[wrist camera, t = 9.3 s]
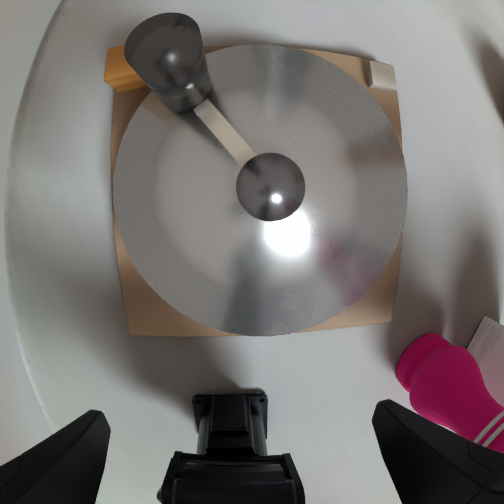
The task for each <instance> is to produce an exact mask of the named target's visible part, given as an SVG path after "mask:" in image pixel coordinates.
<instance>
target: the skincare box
mask: <svg viewBox="0 0 504 504" xmlns="http://www.w3.org/2000/svg"><path fill="white" fill-rule="evenodd" d="M466 350H467V351H468V352H469V353H470V354H471V355H472V356H473V357H474V358H475V360H476V362H477V363H478V366H479V368H480V371H481V374H482V377H483V381H484V383H485V386H486V388H487V390H488V392H489V393H490V395H491V396H492V397H493V398H494V399H495V401H496V402H497V403H499V404H500V405H501V406H503V407H504V326H503V325H501V324H499V323H498V322H496V321H494V320H492V319H490V318H488V317H486V316H484V317H483V319H482V321H481V323H480V325H479V327H478V329H477V331H476V333H475V335H474V337H473V338H472V340H471V342H470V344H469V346H468V347H467V349H466Z"/></svg>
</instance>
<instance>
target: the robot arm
mask: <svg viewBox="0 0 504 504" xmlns="http://www.w3.org/2000/svg"><path fill="white" fill-rule="evenodd" d="M261 398H263V399H262V400H261ZM197 400H200V401H197ZM192 403H193V408H194V413H195V418H196V422H197V427H198V431H199V435H198V444H197V454H190V453H183V452H181V451H175V453H174V456H173V458H171V461H170V464H169V467H168V470H167V473H166V475H165V478H164V481H163V484H162V486H161V488H160V489H159V491H158V493H157V499H158V500H159V501H160V503H161V504H305V494H304V489H303V485H302V482H301V480H300V477H299V475H298V472H297V470H296V467H295V465H294V463H293V460H292V458H291V455H290V453H286V454H282V455H269V456H268V455H267V447H266V439H267V406H268V399H267V395H266V394H262V393H260V394H239V395H195V396H193V399H192ZM372 424H373V427H374V431H375V434H376V437H377V440H378V444H379V447H380V451H381V454H382V457H383V460H384V462H385V465H386V467H387V469H388V471H389V474H390V476H391V478H392V481H393V483H394V485H395V488H396V490H397V492H398V495H399V497H400V500H401V502H402V504H504V453H502V452H499V451H496V450H493V449H490V448H487V447H484V446H482V445H480V444H477V443H475V442H473V441H471V440H467V439H466V438H464V437H462V436H460V435H458V434H456V433H454V432H452V431H450V430H448V429H446V428H444V427H442V426H440V425H438V424H436V423H434V422H432V421H430V420H428V419H426V418H424V417H422V416H420V415H418V414H416V413H414V412H413V411H411V410H409V409H407V408H405V407H403V406H401V405H400V404H398V403H396V402H394V401H392V400H390V399H387V400H383V401H379V402H378V403H377V405H376V408H375V411H374V414H373V417H372ZM110 433H111V430H110V426H109V424H108V422H107V420H106V418H105V416H104V414H103V412H102V411H98V410H89V411H88V412H86V413H85V414H83V415H82V416H80V417H79V418H77V419H76V420H74V421H73V422H71V423H70V424H68V425H67V426H65V427H64V428H62V429H61V430H59V431H57V432H56V433H54V434H53V435H51V436H50V437H48V438H47V439H45V440H44V441H42V442H40V443H39V444H37V445H36V446H34V447H32V448H31V449H29V450H27V451H26V452H24V453H23V454H21V455H20V456H18V457H16V458H14V459H13V460H11V461H9V462H7V463H5V464H4V465H2V466H0V504H95V502H96V498H97V494H98V490H99V486H100V483H101V479H102V475H103V472H104V468H105V462H106V456H107V450H108V444H109V439H110Z"/></svg>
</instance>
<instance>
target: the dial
mask: <svg viewBox="0 0 504 504" xmlns="http://www.w3.org/2000/svg"><path fill="white" fill-rule="evenodd" d="M124 55H125V59H126V61H127V62H128V64H129V65H130V66H131V67H132V68H133V70H134V71H135V72H136V73H137V74H138V75H139V76H140V78H141V79H142V80H143V81H144V82H145V83H146V85H147V86H148V87H149V88H150V89H151V90H152V91H151V93H150V94H149V95H148V96H147V97H146V98H145V99H144V101H143V102H142V103H141V105H140V106H139V108H138V109H137V111H136V112H135V114H134V115H133V117H132V118H131V120H130V122H129V125H128V127H127V129H126V131H125V133H124V135H123V138H122V141H121V144H120V147H119V150H118V154H117V157H116V163H115V169H114V176H113V201H114V210H115V217H116V221H117V225H118V229H119V233H120V236H121V239H122V241H123V243H124V246H125V248H126V251H127V253H128V255H129V257H130V259H131V260H132V262H133V264H134V265H135V267H136V269H137V271H138V272H139V273H140V275H141V276H142V277H143V278H144V280H145V281H146V282H147V284H148V285H149V286H150V287H151V288H152V289H153V290H154V291H155V292H156V293H157V294H158V295H159V296H160V297H161V298H162V299H163V300H164V301H165V302H167V303H168V304H169V305H171V306H172V307H173V308H175V309H176V310H177V311H179V312H180V313H182V314H184V315H185V316H187V317H189V318H191V319H192V320H194V321H196V322H198V323H201V324H203V325H206V326H208V327H211V328H213V329H217V330H220V331H224V332H228V333H232V334H239V335H247V336H275V335H283V334H290V333H294V332H298V331H301V330H305V329H308V328H311V327H313V326H316V325H318V324H321V323H323V322H325V321H327V320H329V319H331V318H333V317H334V316H336V315H338V314H340V313H341V312H343V311H344V310H345V309H347V308H348V307H350V306H351V305H352V304H354V303H355V302H356V301H357V300H358V299H359V298H360V297H361V296H363V295H364V294H365V293H366V292H367V291H368V290H369V289H370V287H371V286H372V285H373V284H374V283H375V281H376V280H377V279H378V278H379V277H380V275H381V273H382V272H383V270H384V269H385V267H386V266H387V264H388V263H389V261H390V259H391V257H392V255H393V253H394V250H395V248H396V246H397V244H398V241H399V238H400V235H401V232H402V229H403V224H404V219H405V214H406V208H407V193H408V190H407V173H406V168H405V162H404V157H403V153H402V150H401V147H400V144H399V141H398V138H397V135H396V133H395V131H394V129H393V127H392V125H391V123H390V121H389V119H388V117H387V116H386V114H385V113H384V111H383V110H382V108H381V106H380V105H379V104H378V102H377V101H376V100H375V99H374V98H373V96H372V95H371V94H370V93H369V92H368V90H366V89H365V88H364V87H363V86H362V85H361V84H360V83H359V82H358V81H357V80H356V79H355V78H354V77H352V76H351V75H349V74H348V73H347V72H345V71H344V70H342V69H341V68H340V67H338V66H336V65H335V64H333V63H331V62H329V61H327V60H325V59H323V58H321V57H319V56H316V55H314V54H311V53H308V52H306V51H303V50H299V49H295V48H290V47H286V46H279V45H269V44H252V45H240V46H234V47H229V48H224V49H220V50H217V51H214V52H211V53H208V54H205V52H204V48H203V43H202V39H201V34H200V29H199V27H198V25H197V23H196V22H195V21H194V20H193V19H192V18H191V17H189V16H187V15H184V14H180V13H163V14H159V15H156V16H153V17H151V18H149V19H147V20H145V21H143V22H142V23H141V24H139V25H138V26H137V27H136V28H135V29H134V30H133V31H132V32H131V34H130V35H129V37H128V38H127V41H126V43H125V47H124Z"/></svg>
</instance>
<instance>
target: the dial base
mask: <svg viewBox="0 0 504 504" xmlns="http://www.w3.org/2000/svg"><path fill="white" fill-rule="evenodd" d="M124 47H125V45H122V46H118V47H114V48H110V49H108V54H107V60H106V67H105V74H104V81H105V82H106V83H107V84H109V85H110V86H111V87H113V88H114V89H115V91H114V103H113V117H112V140H111V183H112V207H113V222H114V234H115V244H116V253H117V261H118V269H119V276H120V283H121V290H122V296H123V302H124V307H125V312H126V318H127V323H128V328H129V332H130V335H140V336H174V337H213V336H247V335H239V334H232V333H228V332H224V331H220V330H217V329H213V328H211V327H208V326H206V325H203V324H201V323H198V322H196V321H194V320H192V319H191V318H189V317H187V316H185V315H184V314H182V313H180V312H179V311H177V310H176V309H175V308H173V307H172V306H171V305H169V304H168V303H167V302H165V301H164V300H163V299H162V298H161V297H160V296H159V295H158V294H157V293H156V292H155V291H154V290H153V289H152V288H151V287H150V286H149V285H148V284H147V282H146V281H145V280H144V278H143V277H142V276H141V275H140V273H139V272H138V271H137V269H136V267H135V265H134V264H133V262H132V260H131V259H130V257H129V255H128V253H127V251H126V248H125V246H124V243H123V241H122V239H121V236H120V233H119V229H118V225H117V221H116V217H115V210H114V201H113V176H114V169H115V163H116V157H117V154H118V150H119V147H120V144H121V141H122V138H123V135H124V133H125V131H126V129H127V127H128V125H129V122H130V120H131V118H132V117H133V115H134V114H135V112H136V111H137V109H138V108H139V106H140V105H141V103H142V102H143V101H144V99H145V98H146V97H147V96H148V95H149V94H150V93H151V91H152V90H151V89H150V88H149V87H148V86H147V85H146V83H145V82H144V81H143V80H142V79H141V78H140V76H139V75H138V74H137V73H136V72H135V71H134V70H133V68H132V67H131V66H130V65H129V64H128V62H127V61H126V59H125V55H124ZM229 47H234V46H219V47H203V48H204V52H205V54H208V53H211V52H214V51H217V50H220V49H224V48H229ZM295 49H299V50H303V51H306V52H308V53H311V54H314V55H316V56H319V57H321V58H323V59H325V60H327V61H329V62H331V63H333V64H335V65H336V66H338V67H340V68H341V69H342V70H344V71H345V72H347V73H348V74H349V75H351V76H352V77H354V78H355V79H356V80H357V81H358V82H359V83H360V84H361V85H362V86H363V87H364V88H365V89H366V90H368V92H369V93H370V94H371V95H372V96H373V98H374V99H375V100H376V101H377V102H378V104H379V105H380V106H381V108H382V110H383V111H384V113H385V114H386V116H387V117H388V119H389V121H390V123H391V125H392V127H393V129H394V131H395V133H396V135H397V138H398V141H399V144H400V147H401V150H402V136H401V123H400V113H399V104H398V96H397V86H396V80H395V74H394V68H393V65H389V64H385V63H381V62H377V61H373V60H369V59H364V58H360V57H355V56H349V55H344V54H338V53H332V52H325V51H318V50H309V49H300V48H295ZM401 238H402V232H401V235H400V238H399V241H398V244H397V246H396V248H395V250H394V253H393V255H392V257H391V259H390V261H389V263H388V264H387V266H386V267H385V269H384V270H383V272H382V273H381V275H380V277H379V278H378V279H377V280H376V281H375V283H374V284H373V285H372V286H371V287H370V289H369V290H368V291H367V292H366V293H365V294H364V295H363V296H361V297H360V298H359V299H358V300H357V301H356V302H355V303H354V304H352V305H351V306H350V307H348V308H347V309H345V310H344V311H343V312H341V313H340V314H338V315H336V316H334V317H333V318H331V319H329V320H327V321H325V322H323V323H321V324H318V325H316V326H313V327H311V328H308V329H305V330H301V331H298V332H309V331H319V330H329V329H338V328H347V327H355V326H363V325H370V324H377V323H384V322H390V321H391V319H392V313H393V307H394V301H395V294H396V287H397V279H398V271H399V261H400V251H401ZM294 333H297V332H294Z"/></svg>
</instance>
